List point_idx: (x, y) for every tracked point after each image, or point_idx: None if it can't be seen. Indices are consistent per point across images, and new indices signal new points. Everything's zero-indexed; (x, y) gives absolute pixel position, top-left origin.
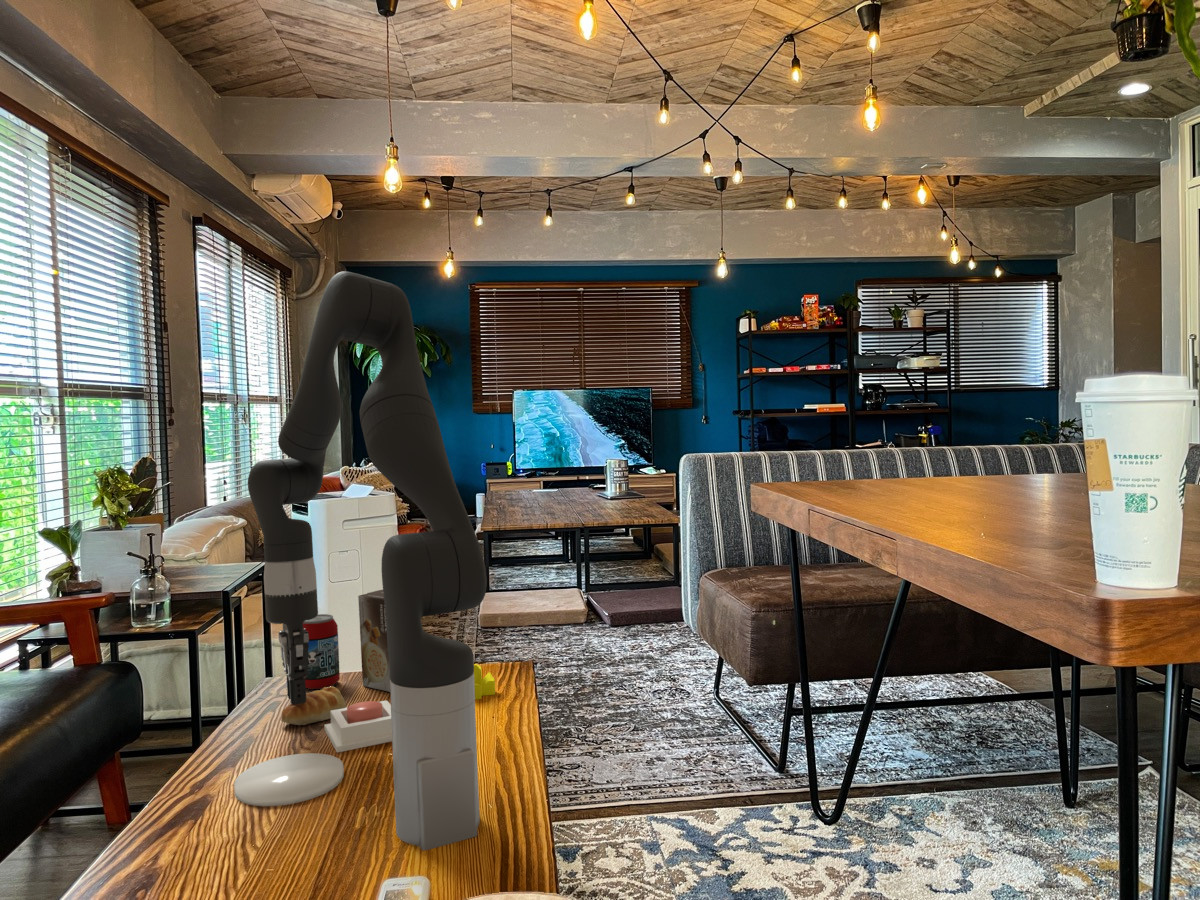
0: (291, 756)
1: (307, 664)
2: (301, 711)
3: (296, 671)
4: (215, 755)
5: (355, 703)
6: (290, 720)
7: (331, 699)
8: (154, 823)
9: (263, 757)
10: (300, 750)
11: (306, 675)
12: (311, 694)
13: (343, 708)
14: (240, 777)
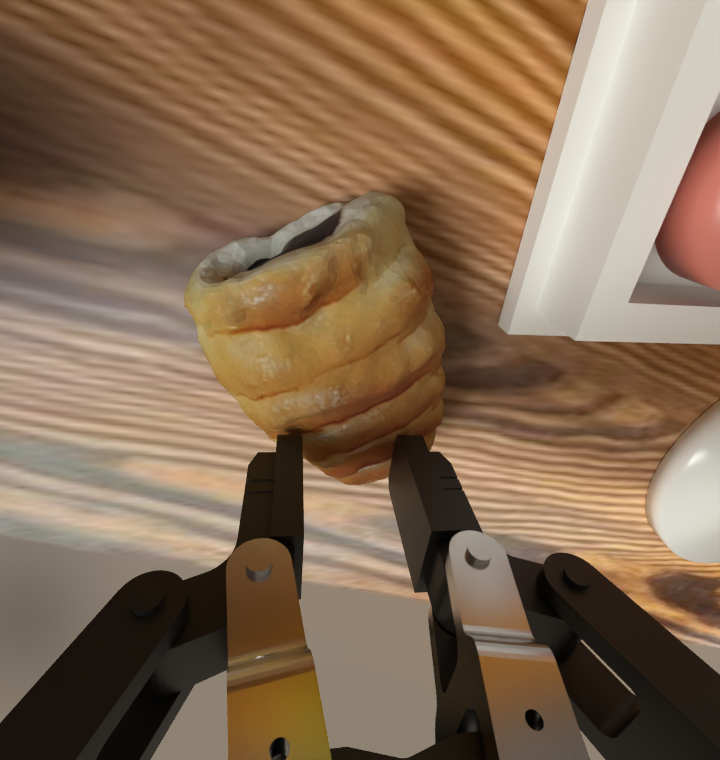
0: (700, 466)
1: (691, 655)
2: (434, 432)
3: (577, 645)
4: None
5: (716, 232)
6: None
7: (425, 303)
8: (675, 623)
9: (562, 499)
10: (603, 420)
11: (585, 568)
12: (348, 405)
13: (602, 276)
14: (696, 555)
